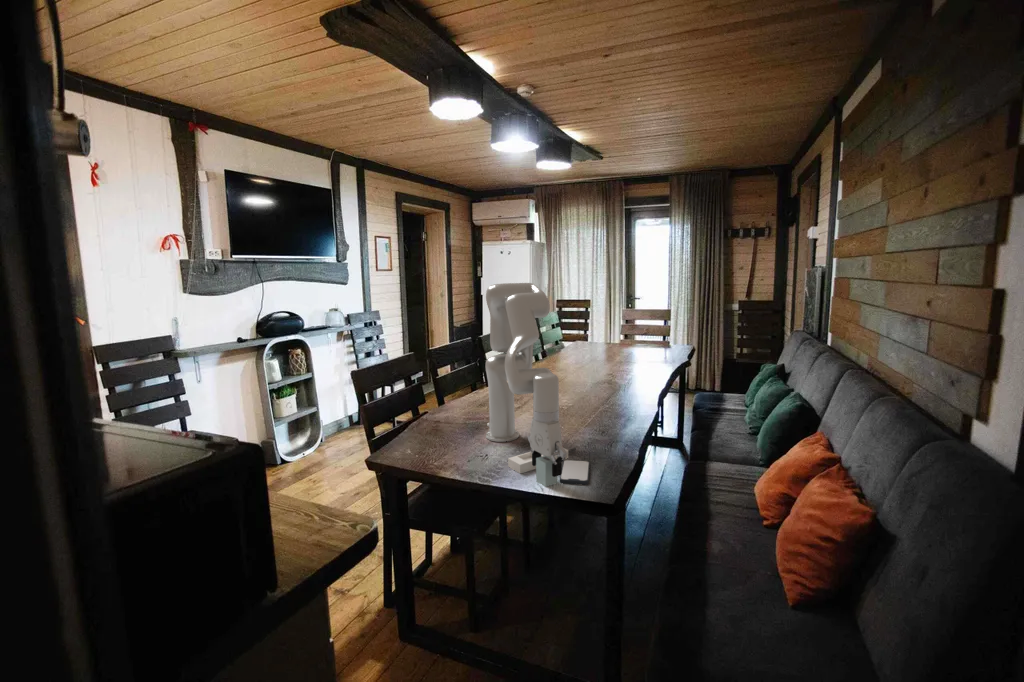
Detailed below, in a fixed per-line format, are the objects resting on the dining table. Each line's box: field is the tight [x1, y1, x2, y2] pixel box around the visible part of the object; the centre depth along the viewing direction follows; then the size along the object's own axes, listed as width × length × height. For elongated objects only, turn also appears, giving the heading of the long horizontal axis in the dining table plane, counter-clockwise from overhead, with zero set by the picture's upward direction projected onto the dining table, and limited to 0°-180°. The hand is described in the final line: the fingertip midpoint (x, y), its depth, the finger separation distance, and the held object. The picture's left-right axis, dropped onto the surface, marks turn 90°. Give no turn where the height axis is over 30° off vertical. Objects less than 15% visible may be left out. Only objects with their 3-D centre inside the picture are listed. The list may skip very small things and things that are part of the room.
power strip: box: [507, 445, 577, 474], centre depth 166 cm, size 6×26×4 cm, turn 124°
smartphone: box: [559, 459, 591, 486], centre depth 157 cm, size 9×2×16 cm
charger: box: [535, 456, 558, 488], centre depth 150 cm, size 4×4×8 cm
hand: (546, 469), depth 150 cm, fingers open, 9 cm apart
